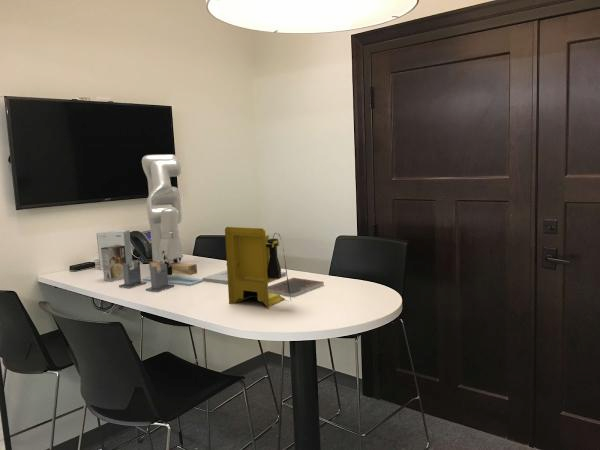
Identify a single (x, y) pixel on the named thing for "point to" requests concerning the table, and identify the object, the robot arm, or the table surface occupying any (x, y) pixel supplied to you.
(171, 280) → the pad
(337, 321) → the table surface
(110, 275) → the coffee box
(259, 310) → the table surface
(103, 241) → the hard drive box
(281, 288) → the picture frame
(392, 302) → the table surface
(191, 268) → the rail
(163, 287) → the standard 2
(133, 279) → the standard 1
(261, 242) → the vintage telephone
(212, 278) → the award plaque
